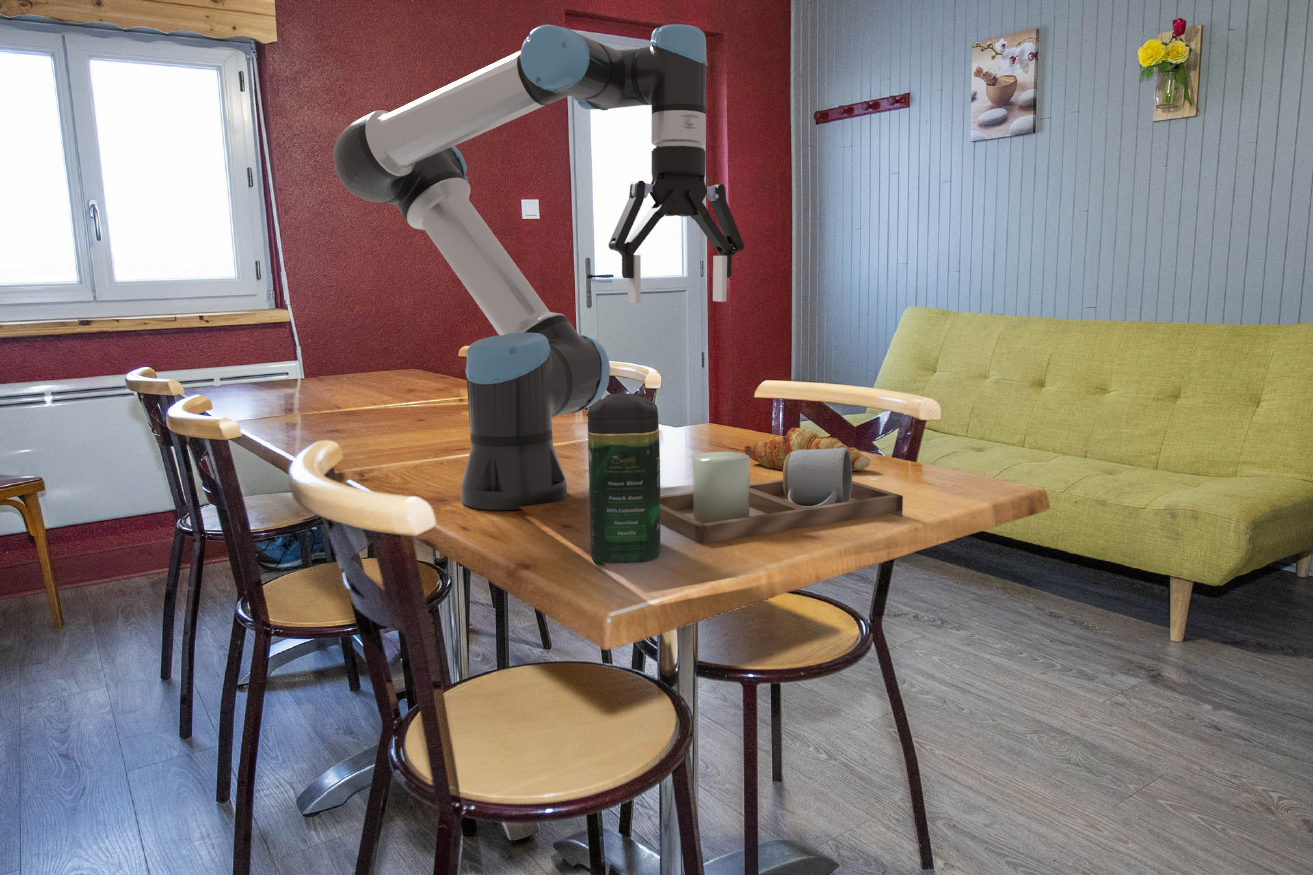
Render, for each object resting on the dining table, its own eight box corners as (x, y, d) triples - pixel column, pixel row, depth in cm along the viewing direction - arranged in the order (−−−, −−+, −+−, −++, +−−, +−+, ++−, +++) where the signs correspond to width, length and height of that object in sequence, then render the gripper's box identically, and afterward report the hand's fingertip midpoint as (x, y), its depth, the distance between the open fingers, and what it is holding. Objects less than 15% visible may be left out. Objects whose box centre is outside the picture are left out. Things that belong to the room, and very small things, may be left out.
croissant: (872, 490, 151) (879, 443, 153) (861, 472, 142) (868, 423, 144) (748, 478, 160) (756, 434, 162) (730, 460, 151) (739, 414, 153)
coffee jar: (662, 571, 100) (658, 399, 97) (588, 572, 100) (582, 401, 97) (661, 545, 110) (658, 388, 107) (594, 547, 110) (589, 390, 107)
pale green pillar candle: (710, 529, 112) (710, 464, 111) (683, 517, 118) (682, 455, 117) (760, 522, 115) (760, 458, 114) (731, 510, 121) (731, 449, 120)
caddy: (699, 552, 107) (699, 526, 106) (640, 521, 121) (639, 498, 120) (902, 518, 119) (902, 495, 119) (827, 494, 134) (827, 473, 133)
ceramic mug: (792, 496, 128) (792, 441, 127) (852, 499, 125) (853, 443, 124) (775, 516, 118) (774, 457, 117) (840, 520, 116) (840, 460, 114)
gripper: (605, 138, 121) (606, 304, 124) (770, 149, 131) (766, 301, 135) (584, 145, 127) (586, 302, 131) (742, 154, 138) (740, 300, 142)
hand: (677, 302), depth 133 cm, fingers open, 13 cm apart
